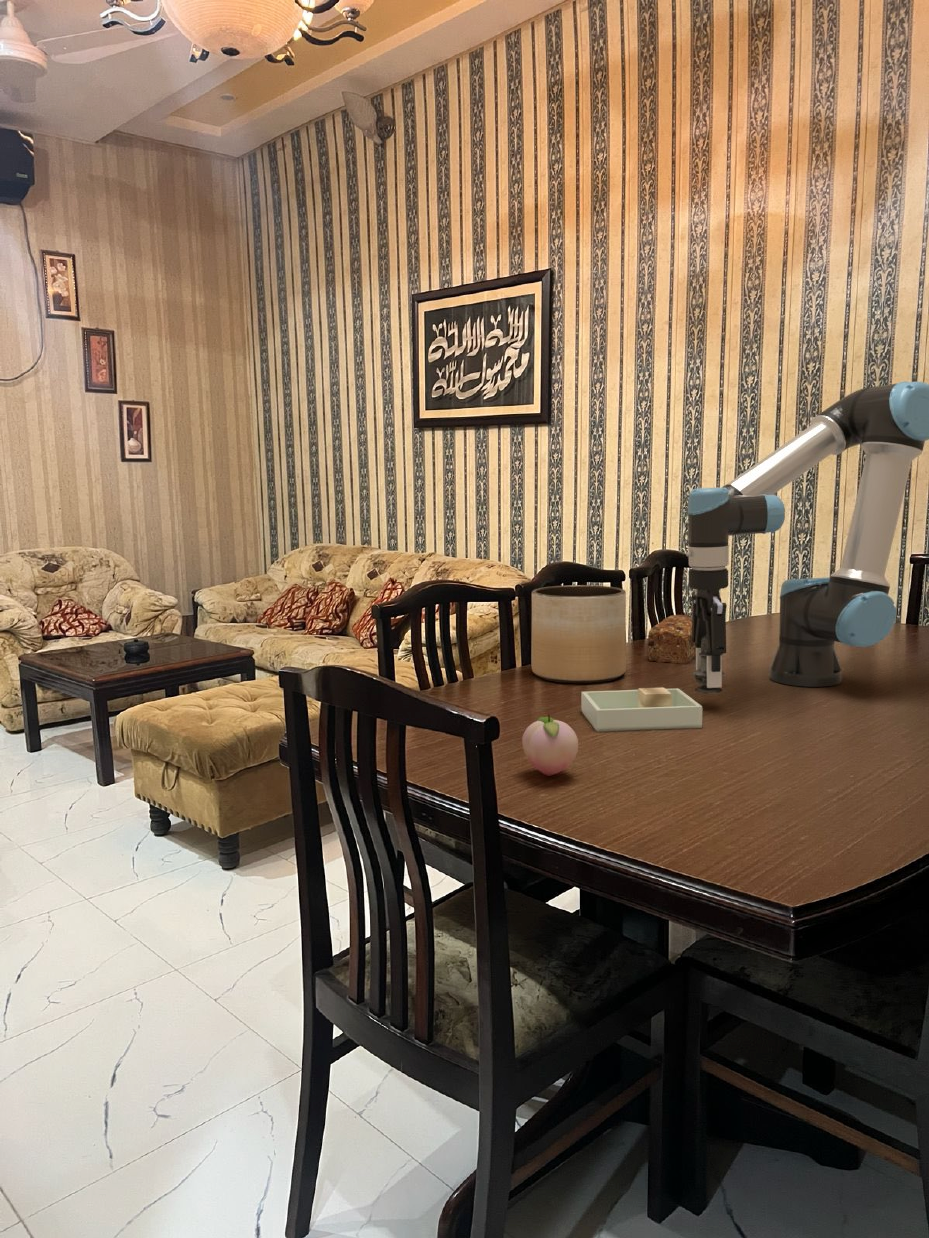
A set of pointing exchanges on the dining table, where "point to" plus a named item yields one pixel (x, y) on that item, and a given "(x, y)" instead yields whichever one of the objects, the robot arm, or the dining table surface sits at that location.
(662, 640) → the bread
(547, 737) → the decorative fruit
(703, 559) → the robot arm
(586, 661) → the planter
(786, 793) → the dining table surface
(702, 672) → the dark grey tall piece
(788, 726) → the dining table surface
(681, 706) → the tray
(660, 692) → the maple cube
